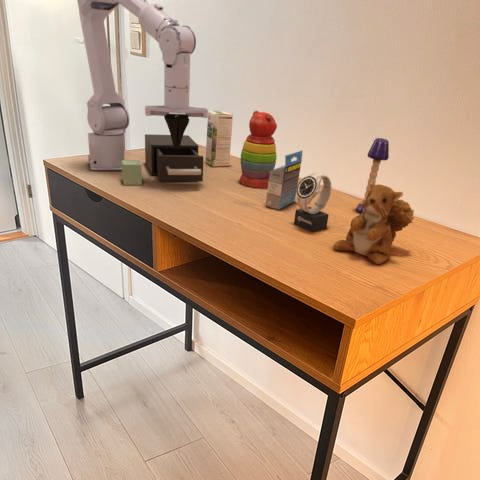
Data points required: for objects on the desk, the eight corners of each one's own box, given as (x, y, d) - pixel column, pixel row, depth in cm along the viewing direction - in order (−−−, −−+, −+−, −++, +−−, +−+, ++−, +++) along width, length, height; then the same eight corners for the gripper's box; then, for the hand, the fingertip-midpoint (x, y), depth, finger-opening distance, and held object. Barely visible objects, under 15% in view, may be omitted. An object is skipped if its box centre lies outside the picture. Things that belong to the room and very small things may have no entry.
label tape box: (281, 198, 121) (287, 146, 115) (296, 201, 120) (303, 149, 113) (264, 206, 115) (270, 152, 108) (280, 210, 113) (286, 155, 107)
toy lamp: (376, 210, 118) (392, 138, 110) (375, 216, 114) (392, 142, 106) (356, 207, 119) (370, 135, 111) (354, 213, 115) (369, 139, 107)
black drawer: (207, 187, 122) (208, 161, 119) (162, 187, 119) (161, 161, 116) (192, 169, 136) (193, 145, 133) (152, 168, 133) (151, 145, 130)
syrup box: (204, 162, 147) (206, 110, 140) (222, 161, 150) (225, 110, 142) (211, 166, 143) (214, 113, 136) (230, 166, 145) (233, 113, 138)
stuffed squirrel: (329, 250, 94) (341, 181, 88) (369, 235, 103) (383, 172, 96) (373, 268, 88) (390, 196, 82) (411, 250, 97) (430, 184, 91)
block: (123, 185, 121) (123, 164, 118) (122, 180, 124) (121, 159, 122) (142, 184, 122) (141, 164, 120) (139, 180, 126) (139, 160, 123)
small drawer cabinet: (197, 175, 134) (198, 145, 130) (151, 175, 130) (151, 144, 126) (187, 163, 144) (188, 135, 140) (145, 163, 141) (144, 134, 137)
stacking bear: (284, 186, 130) (293, 115, 121) (252, 190, 125) (259, 115, 116) (261, 176, 138) (268, 108, 129) (230, 179, 133) (235, 108, 124)
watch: (287, 225, 105) (294, 173, 99) (312, 219, 109) (320, 169, 104) (306, 233, 101) (314, 180, 96) (332, 227, 106) (341, 175, 100)
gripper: (147, 87, 107) (148, 151, 114) (211, 90, 111) (209, 152, 118) (143, 83, 112) (144, 144, 119) (204, 86, 117) (202, 145, 124)
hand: (176, 148), depth 119 cm, fingers closed
